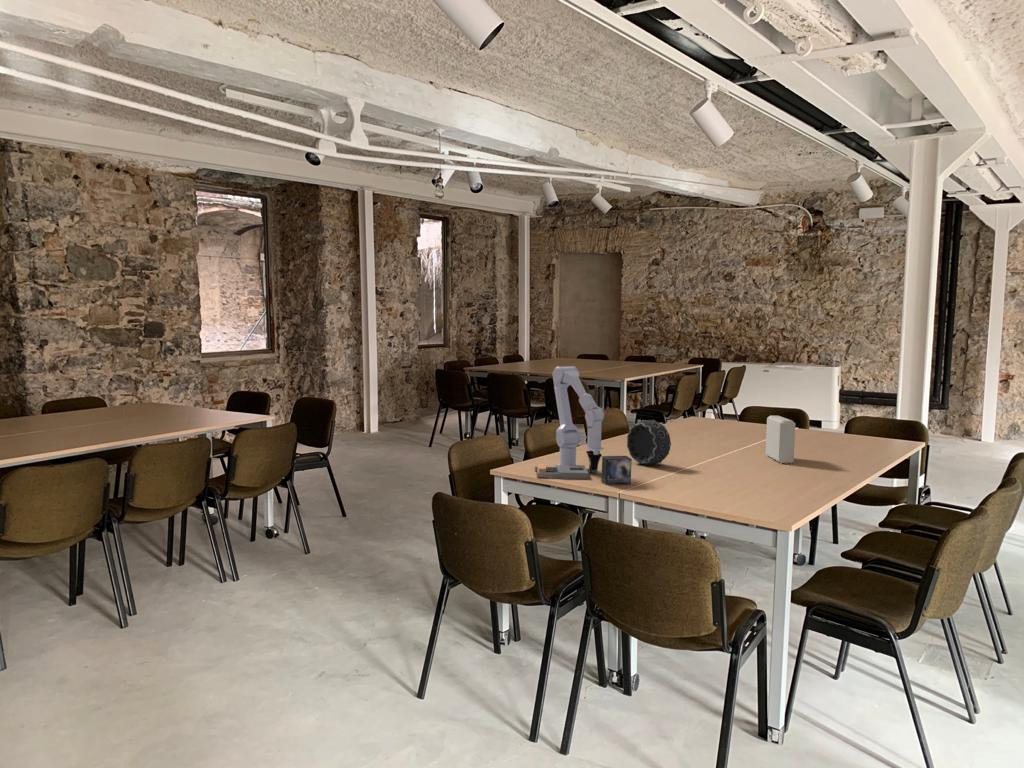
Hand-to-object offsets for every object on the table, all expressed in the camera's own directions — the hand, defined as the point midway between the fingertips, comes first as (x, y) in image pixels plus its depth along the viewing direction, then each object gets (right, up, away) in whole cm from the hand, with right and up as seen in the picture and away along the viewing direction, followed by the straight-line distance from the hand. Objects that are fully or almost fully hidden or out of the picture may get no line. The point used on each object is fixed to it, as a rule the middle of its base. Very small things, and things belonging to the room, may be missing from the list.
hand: (593, 468), depth 315 cm
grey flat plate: (-14, -2, -4) cm, 15 cm away
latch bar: (-22, -2, -4) cm, 22 cm away
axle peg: (0, -2, 0) cm, 2 cm away
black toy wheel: (+27, -1, +22) cm, 35 cm away
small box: (+7, -4, -18) cm, 20 cm away
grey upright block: (+93, -1, +39) cm, 100 cm away
